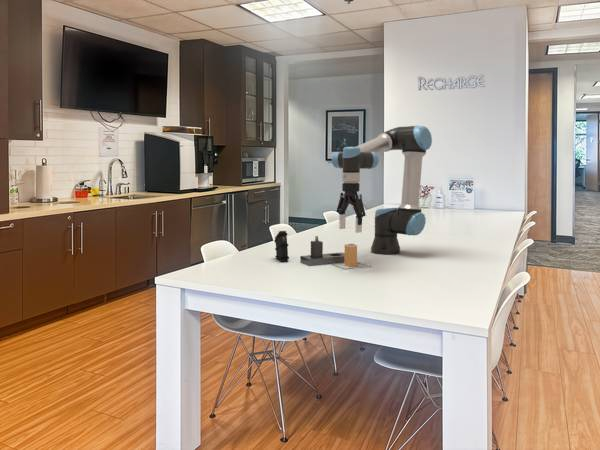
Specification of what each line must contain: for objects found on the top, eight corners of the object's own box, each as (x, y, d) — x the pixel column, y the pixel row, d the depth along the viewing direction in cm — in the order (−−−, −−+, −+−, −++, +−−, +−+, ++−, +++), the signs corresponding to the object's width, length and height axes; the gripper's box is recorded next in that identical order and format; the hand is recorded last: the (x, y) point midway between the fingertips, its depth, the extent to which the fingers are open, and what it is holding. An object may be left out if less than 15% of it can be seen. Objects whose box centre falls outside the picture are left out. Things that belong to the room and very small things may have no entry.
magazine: (282, 262, 235) (279, 230, 239) (276, 269, 247) (273, 239, 251) (290, 261, 236) (287, 230, 240) (284, 269, 248) (280, 239, 252)
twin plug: (318, 261, 239) (318, 235, 238) (322, 263, 236) (322, 236, 234) (310, 262, 237) (310, 235, 236) (314, 264, 234) (314, 237, 232)
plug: (351, 265, 234) (352, 243, 233) (356, 267, 230) (357, 245, 229) (344, 266, 232) (344, 244, 231) (349, 268, 229) (349, 245, 227)
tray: (356, 263, 240) (356, 261, 240) (371, 268, 229) (371, 266, 229) (330, 266, 233) (330, 264, 233) (344, 271, 223) (344, 269, 223)
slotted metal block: (341, 260, 248) (341, 252, 247) (351, 263, 240) (351, 255, 239) (300, 264, 238) (300, 256, 237) (309, 268, 230) (309, 259, 229)
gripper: (329, 181, 236) (328, 227, 239) (359, 183, 214) (358, 234, 217) (343, 181, 240) (342, 226, 242) (374, 183, 217) (373, 233, 220)
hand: (350, 230), depth 229 cm, fingers open, 13 cm apart
